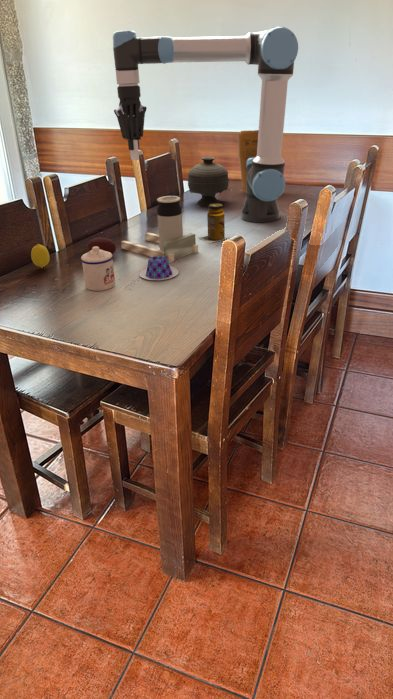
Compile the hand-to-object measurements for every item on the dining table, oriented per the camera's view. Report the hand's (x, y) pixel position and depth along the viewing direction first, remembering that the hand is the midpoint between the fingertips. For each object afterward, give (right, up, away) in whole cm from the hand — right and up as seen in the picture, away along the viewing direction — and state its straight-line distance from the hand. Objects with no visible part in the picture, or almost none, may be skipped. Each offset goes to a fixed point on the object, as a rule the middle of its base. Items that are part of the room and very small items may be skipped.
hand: (135, 159), depth 187 cm
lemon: (-28, -41, -17) cm, 52 cm away
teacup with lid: (-6, -48, -31) cm, 57 cm away
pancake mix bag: (+51, +6, +62) cm, 80 cm away
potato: (-10, -36, -9) cm, 38 cm away
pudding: (+10, -45, -25) cm, 52 cm away
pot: (+27, -2, +48) cm, 56 cm away
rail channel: (+9, -33, -6) cm, 35 cm away
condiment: (+28, -28, +3) cm, 39 cm away
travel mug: (+13, -35, -8) cm, 38 cm away
